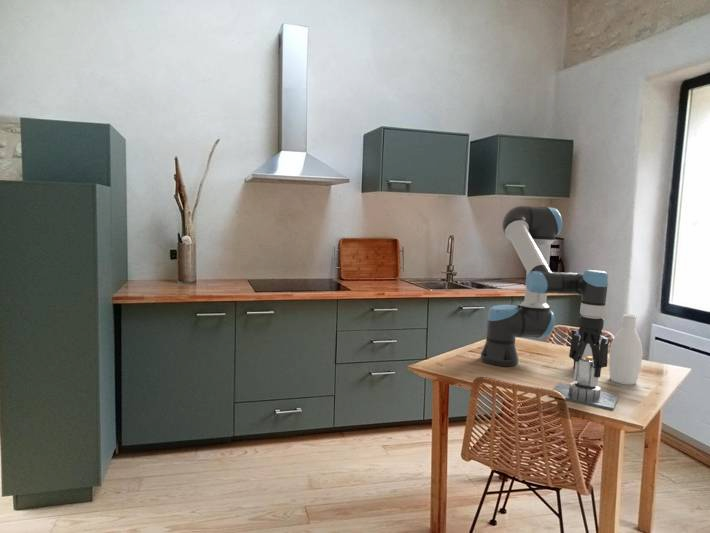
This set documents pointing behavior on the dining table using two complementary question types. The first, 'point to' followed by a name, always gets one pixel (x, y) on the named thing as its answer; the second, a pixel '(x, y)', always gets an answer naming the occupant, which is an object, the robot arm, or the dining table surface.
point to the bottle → (626, 353)
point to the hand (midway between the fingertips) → (585, 382)
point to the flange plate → (599, 402)
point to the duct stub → (585, 372)
